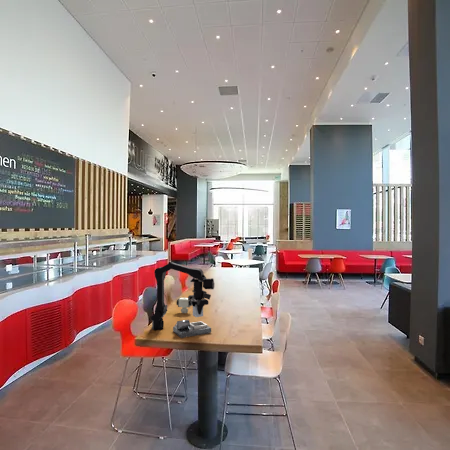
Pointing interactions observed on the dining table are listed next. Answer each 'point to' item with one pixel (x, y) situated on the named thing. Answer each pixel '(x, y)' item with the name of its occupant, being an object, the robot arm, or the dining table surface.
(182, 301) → the pneumatic valve
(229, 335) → the dining table surface
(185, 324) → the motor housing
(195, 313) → the drain pump
